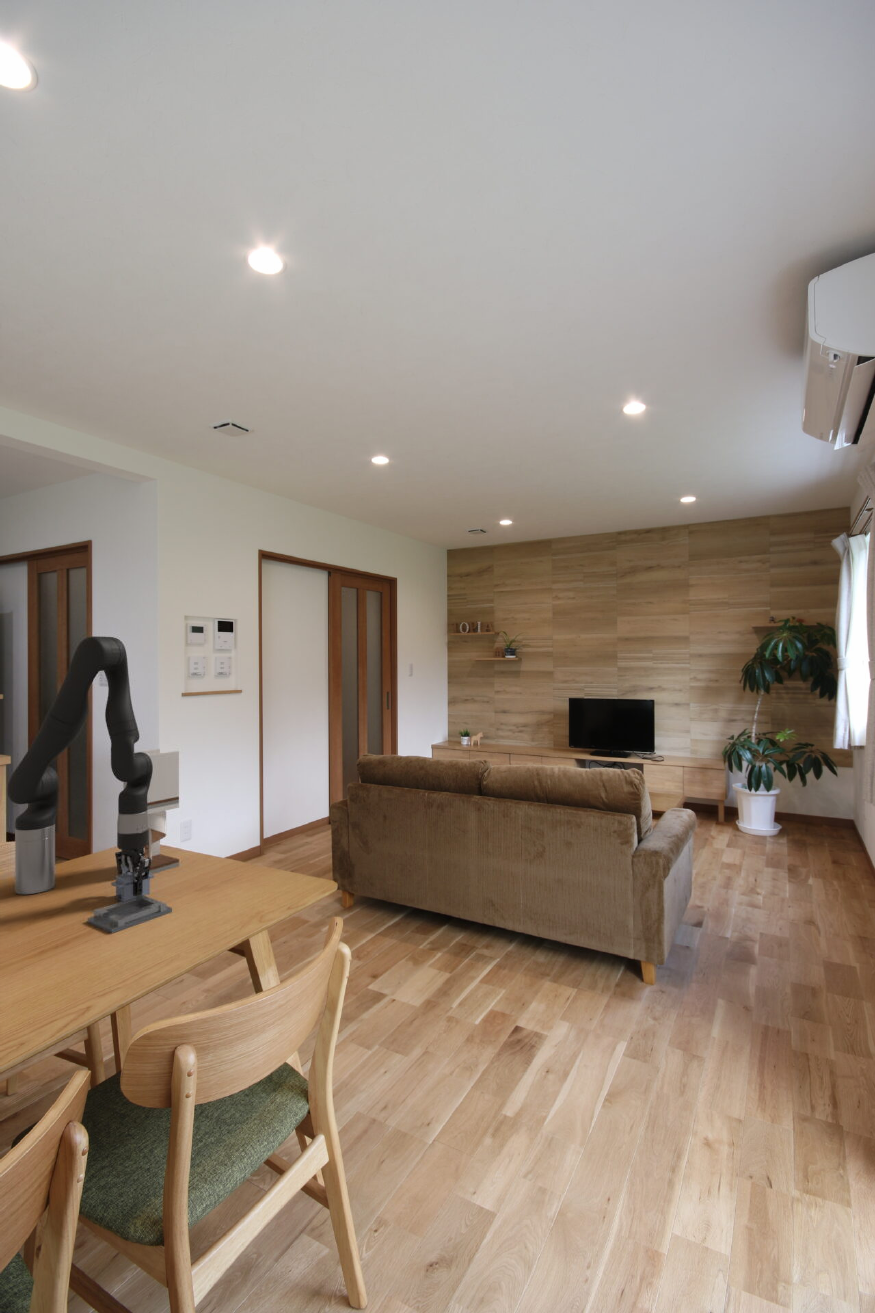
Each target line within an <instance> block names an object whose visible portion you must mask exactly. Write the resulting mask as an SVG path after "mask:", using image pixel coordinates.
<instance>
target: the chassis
mask: <svg viewBox="0 0 875 1313" xmlns="http://www.w3.org/2000/svg"><path fill="white" fill-rule="evenodd" d="M172 912H173V907H171V906H168V905H167V903H165V902H163V901H159V900H158V899H154V898H152V897H150V896H147V895H145V896H144V895H139V896H136V897H135V898H132V899H129V900H126V901H120V902H117V903H114V904H110V905H107V906H105V907H98V908H96V909H94V910H93V916H91V917H88V918H87V924H89V925H92V926H94V927H96V928H99V929H101V930H104V931H105V932H107V933H110V934H114V933H117V932H120V931H123V930H125V929H128V928H131V927H133V926H136V925H139V924H142V923H145V922H148V921H150V920H154V919H156V918H159V917H162V916H165V915H167V914H168V915H169V914H170V913H172Z"/></svg>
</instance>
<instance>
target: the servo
mask: <svg viewBox="0 0 875 1313" xmlns="http://www.w3.org/2000/svg"><path fill="white" fill-rule="evenodd" d="M136 869H139V867H138V868H136ZM144 874H145V872H144ZM137 875H138V872H137ZM154 878H155V875H154V874H150V871H149V876H148V879H144V880H143V893H142V894H141V895H144V896H147V895H150V893H151V892H150V891H151V890H150V888H151V886H150V885H151V884H150V882H151V880H150V879H154ZM133 882H134V881H133V875H132V874H131V873H130V872H128V873H125V874H121V875H119V874H118V875H116V876H115V881H112V882H111V883H110V885H111V886H112V887H115V895H114V896H115V897H114V900H116V901H118V900H119V901H120V902H123V901H126V900H129V899H132V898H135V897H136V896H134V895H133Z"/></svg>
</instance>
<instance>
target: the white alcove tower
mask: <svg viewBox="0 0 875 1313" xmlns="http://www.w3.org/2000/svg"><path fill="white" fill-rule="evenodd" d="M137 752H143V753H146V754H147V755H148V756H149V757H150V758H151V761H152V765H153V772H152V778H151V782H150V787H149V790H148V794H147V811H148V820H149V843H148V845H147V846H145V847H144V853H145V857H146V858H147V859H148V858H151V866H150V874H151V875H154V874H156V873H157V874H158V873H161V872H164V871H166V870H169V869H172V868H176V867H180V858H176V857H173V856H169V855H165V854H161V840H162V839H164V838H165V837H167V811H169V810H174V809H178V808H180V751H179V750H175V751H168V752H161V749H160V748H156V749H148V750H139V751H134V753H137ZM122 783H123V785H122V786H123V788H122V791H123V790H124V789H125V787H126V785H127V782H122ZM137 868H138V867H137ZM134 869H135V870H136V868H134Z"/></svg>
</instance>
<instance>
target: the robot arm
mask: <svg viewBox="0 0 875 1313" xmlns="http://www.w3.org/2000/svg"><path fill="white" fill-rule="evenodd" d="M127 656H128V655H127V650H126V647H125V645H124V643H123V642H122V641H121V639H119V638H117V637H114V636H96V635H95V636H93V635H92V636H88V637H86V638H84V639H82V640H81V641H80V643H78V645H77V647H76V649H75V652H74V654H73V656H72V660H71V662H70V665H69V667H68V670H67V673H66V675H65V677H64V680H63V682H62V684H61V686H60V688H59V690H58V693H57V694H56V697H55V699H54V701H53V702H52V705H51V706H50V707H49V710H48V712H47V714H46V715H45V717H44V719H43V722H42V724H41V726H40V728H39V730H38V732H37V734H36V736H35V737H34V739H33V740H32V743H31V745H30V746H29V748H28V750H27V751H26V754H25V755H24V757H23V758H22V759H21V761H20V762H19V764H18V765H17V767H16V768H15V770H14V771H13V773H12V775H11V776H10V778H9V780H8V783H7V789H6V791H7V797H8V798H9V801H11V802H12V803H14V804H16V805H26V804H28V806H27V808H26V809H25V810H24V811H23V812H22V813H21V814H19V815H18V816H17V817H16V819H15V822H14V828H15V830H14V835H15V836H14V848H15V849H14V858H15V859H14V860H15V861H14V866H15V868H14V870H15V871H14V873H15V874H14V892H15V894H18V895H32V894H33V895H34V894H37V893H38V894H39V893H43V892H46V891H49V890H51V889H53V888H54V887H55V886H56V884H55V883H56V879H55V878H56V874H55V873H56V831H55V830H56V816H57V815H58V813H59V812H58V811H59V802H60V801H59V800H60V799H59V798H60V779H59V776H58V775H59V774H58V773H57V772H56V770H55V769H54V768H52V767H51V766H50V765H51V764H52V762H53V761H54V760H55V759H56V758H57V757H58V756H60V755H61V754H62V753H63V752H64V751H65V750H66V749H68V748H69V747H70V746H71V744H72V743H74V741H75V740H76V739H77V738H78V737H79V735H80V733H81V731H82V729H83V728H84V726H85V724H86V721H87V719H88V717H89V712H90V709H89V708H90V706H89V690H90V688H91V686H92V685H93V681H94V680H95V678H96V677H97V675H98V674H99V673H100V672H104V675H105V678H106V682H107V685H108V686H107V687H108V690H107V691H108V693H107V700H106V704H105V713H104V714H105V715H104V716H105V718H104V719H105V724H106V729H107V732H108V737H109V740H110V768H111V772H112V774H113V776H114V778H116V779H117V780H118V781H119V782H122V783H123V782H127V785H126V787H125V789H124V790H123V789H122V791H120V793H119V794H118V799H117V800H118V803H117V806H118V807H117V809H118V810H117V812H118V813H117V821H116V831H117V832H116V833H117V835H116V837H117V838H116V840H117V841H116V846H117V849H118V850H121V851H117V852H115V854H114V855H115V861H116V868H117V873H118V875H121V874H125V873H128V872H130V873H131V874H132V875H133V881H134V882H133V895H134V896H139V895H141V894H142V893H143V880H144V879H148V876H149V871H150V866H151V858H148V859H147V858H146V857H145V853H144V847H145V846H147V845H148V843H149V820H148V811H147V794H148V790H149V787H150V782H151V778H152V772H153V765H152V761H151V758H150V757H149V756H148V755H147V754H146V753H143V752H138V751H136V752H137V753H134V752H135V744H136V743H137V742H138V741H139V740H140V731H139V728H138V724H137V721H136V715H135V712H134V708H133V703H132V698H131V687H130V677H129V675H130V674H129V665H128V657H127ZM137 867H139V869H136V870H135V869H134V868H137ZM137 872H138V875H137ZM144 872H145V874H144Z"/></svg>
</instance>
